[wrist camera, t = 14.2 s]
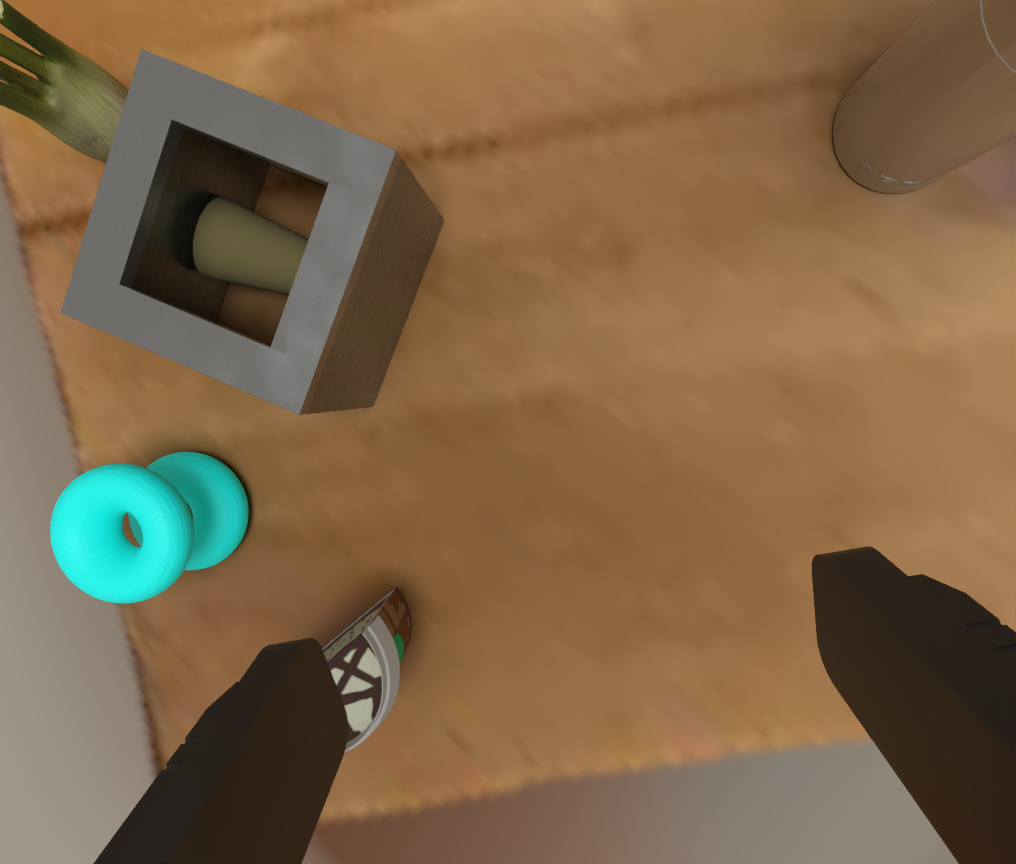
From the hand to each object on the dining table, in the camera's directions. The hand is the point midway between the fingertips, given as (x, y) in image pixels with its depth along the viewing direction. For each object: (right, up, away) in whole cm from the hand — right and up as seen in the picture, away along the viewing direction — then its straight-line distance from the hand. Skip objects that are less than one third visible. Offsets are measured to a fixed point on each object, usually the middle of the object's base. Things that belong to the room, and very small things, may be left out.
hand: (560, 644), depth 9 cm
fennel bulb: (-32, +28, +36) cm, 56 cm away
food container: (-12, -15, +38) cm, 43 cm away
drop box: (-16, +16, +36) cm, 42 cm away
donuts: (-27, -3, +39) cm, 47 cm away
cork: (-23, +18, +32) cm, 43 cm away
